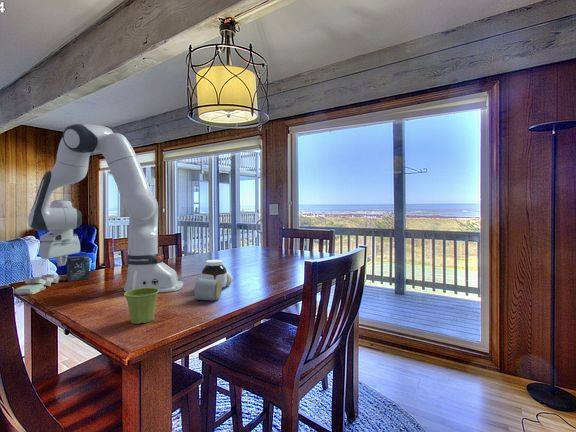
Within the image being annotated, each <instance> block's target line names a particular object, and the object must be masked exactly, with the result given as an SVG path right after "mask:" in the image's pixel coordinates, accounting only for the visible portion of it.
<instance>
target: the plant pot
mask: <svg viewBox="0 0 576 432" xmlns="http://www.w3.org/2000/svg"><path fill="white" fill-rule="evenodd" d="M158 293H160V292H159V289H157V288H139V289H133V290H130V291H127V292H126V291H124V293H123V296H124V297H125V299H126V301H127V307H128V312H129V318H130V323H132V324H134V325H140V324H148V323H150V322H152V321H154V318H155V311H156V310H155V309H156V304H157V298H158Z"/></svg>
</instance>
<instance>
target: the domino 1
mask: <svg viewBox="0 0 576 432" xmlns="http://www.w3.org/2000/svg"><path fill="white" fill-rule="evenodd" d="M44 287H45V286H44V284H26V285H23V286H20V287H17V288H15V290H14V293H15V294H18V293H31V292H34V291H36V290H39V289H41V288H44Z"/></svg>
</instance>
